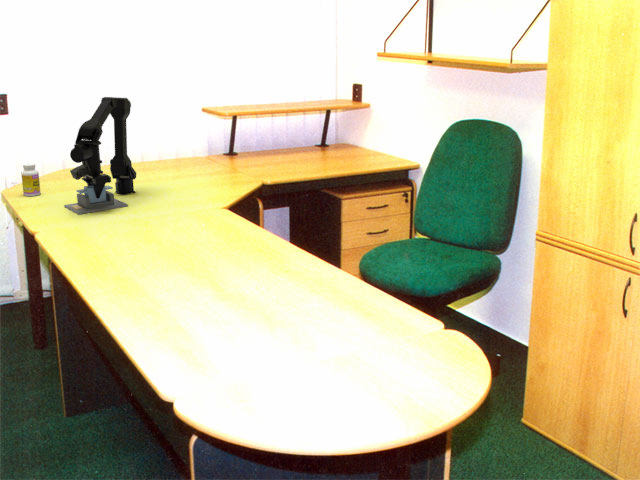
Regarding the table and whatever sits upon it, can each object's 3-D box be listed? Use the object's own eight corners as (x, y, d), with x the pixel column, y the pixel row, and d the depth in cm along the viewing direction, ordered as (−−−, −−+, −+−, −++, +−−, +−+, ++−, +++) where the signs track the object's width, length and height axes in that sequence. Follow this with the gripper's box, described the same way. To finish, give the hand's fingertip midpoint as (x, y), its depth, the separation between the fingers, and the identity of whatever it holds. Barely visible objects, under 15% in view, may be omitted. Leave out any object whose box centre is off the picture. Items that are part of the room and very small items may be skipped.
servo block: (109, 197, 285) (108, 182, 283) (113, 199, 282) (112, 184, 280) (77, 202, 277) (76, 187, 275) (81, 204, 274) (80, 189, 272)
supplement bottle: (34, 197, 293) (31, 166, 289) (20, 196, 294) (16, 165, 290) (44, 193, 299) (40, 163, 295) (29, 192, 301) (26, 162, 297)
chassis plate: (112, 199, 292) (111, 186, 290) (128, 206, 281) (127, 193, 280) (64, 207, 279) (63, 194, 278) (78, 214, 269) (77, 201, 267)
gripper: (62, 156, 276) (66, 195, 281) (81, 164, 263) (85, 205, 267) (89, 153, 283) (93, 191, 288) (110, 160, 270) (113, 200, 274)
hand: (95, 197), depth 279 cm, fingers closed on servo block, 4 cm apart
